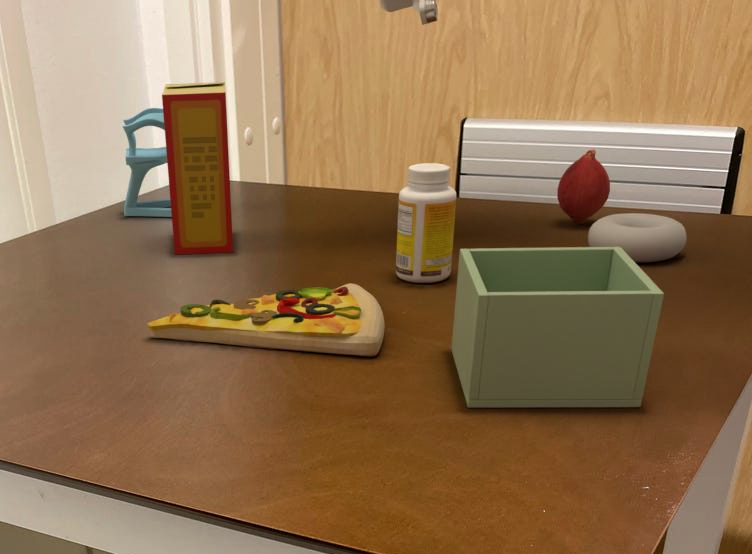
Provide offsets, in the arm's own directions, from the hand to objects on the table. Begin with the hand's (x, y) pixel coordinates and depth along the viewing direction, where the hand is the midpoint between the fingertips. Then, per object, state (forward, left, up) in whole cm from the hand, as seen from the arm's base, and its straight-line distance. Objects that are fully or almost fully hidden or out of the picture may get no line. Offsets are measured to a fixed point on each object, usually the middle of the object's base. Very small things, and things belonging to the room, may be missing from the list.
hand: (477, 2), depth 91 cm
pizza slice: (+19, +24, -23) cm, 39 cm away
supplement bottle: (+4, +7, -23) cm, 25 cm away
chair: (+36, -24, -23) cm, 49 cm away
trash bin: (-3, +35, -23) cm, 42 cm away
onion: (-16, -15, -23) cm, 32 cm away
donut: (-19, -1, -23) cm, 30 cm away
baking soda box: (+28, -8, -23) cm, 37 cm away
